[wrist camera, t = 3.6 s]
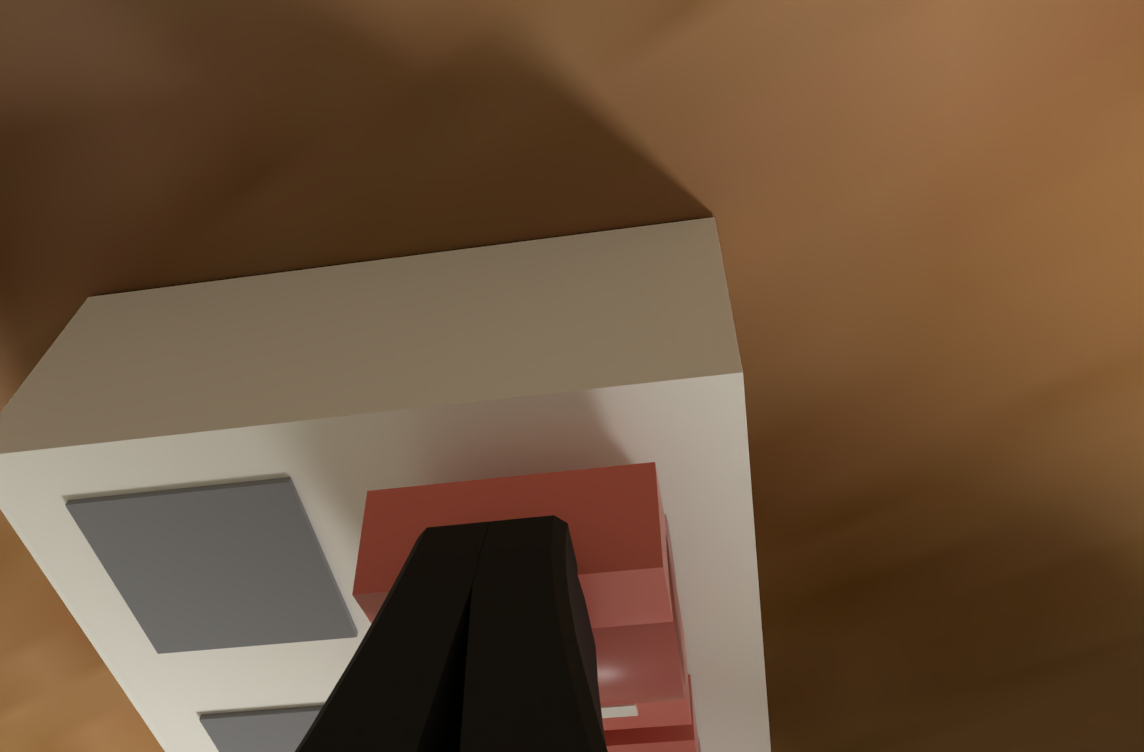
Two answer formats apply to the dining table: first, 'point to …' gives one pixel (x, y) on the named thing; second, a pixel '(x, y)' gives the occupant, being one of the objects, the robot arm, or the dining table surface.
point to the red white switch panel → (372, 458)
